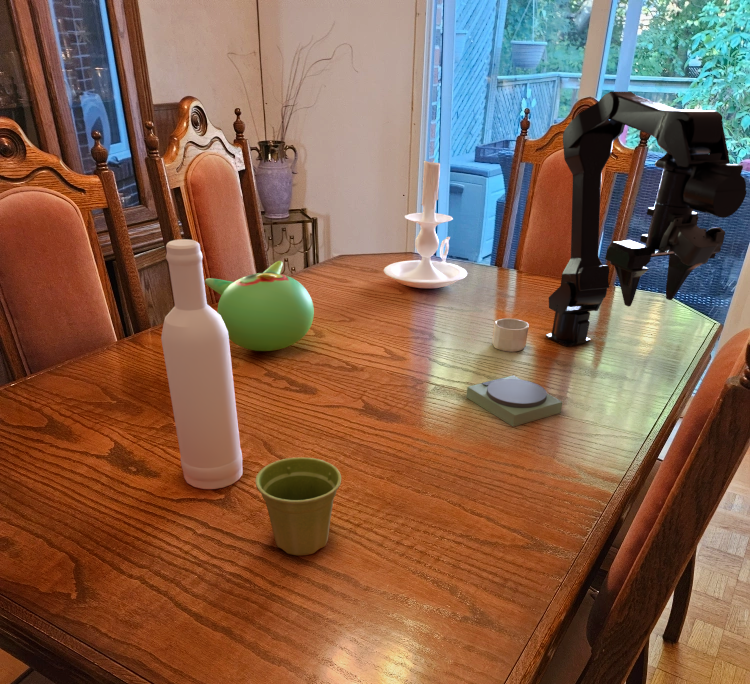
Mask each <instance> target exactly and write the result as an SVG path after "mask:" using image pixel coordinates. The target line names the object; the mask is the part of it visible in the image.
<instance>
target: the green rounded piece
mask: <svg viewBox="0 0 750 684" xmlns="http://www.w3.org/2000/svg"><path fill="white" fill-rule="evenodd" d="M283 265H284V263H283V261H282V260H278V261H275V262H274V263H273V264H272V265H270V266H268V267H267V268H266V269H265V270H264V271H263V272H258V273H252V274H248V275H246V276H242V277H240V278H238V279H236V280H235V281H230V280H225V279H219V278H213V277H211V278H209V277H208V278H206V279H204V284H206V286H208V287H209V288H210V289H211V290H213V291H214V292H215V293H217V294H218V295H219V296H220V298H219V300H218V303H217V313H219V314H220V315H221V317H222V319H223V321H224V323H225V326H226V328H227V330H228V336H229V341H231V342H232V343H234V345H236V346H238V347H241V348H243V349H246V350H250V351H254V352H274V351H279V350H283V349H286V348H288V347H291V346H292V345H295V344H297V343H298V342H300V341H301V340H303V338H304V337H305V336H306V335H307V334H308V333H309V331H310V330H311V327H312V325H313V321H314V316H315V307H314V302H313V300H312V296H311V295H310V293H309V292H308V290H307V289H306V287H305V286H304V285H303V284H302V283H300V282H299V281H298V280H297V279H295V278H293V277H291V276H289V275H285V274H283V273H281V272H282V270H283Z"/></svg>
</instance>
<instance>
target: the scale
mask: <svg viewBox="0 0 750 684" xmlns="http://www.w3.org/2000/svg"><path fill="white" fill-rule="evenodd" d="M465 398H466V399H468V400H470V401H471V402H473V403H474V404H476V405H477V406H479V407H481V408H482V409H484V410H486V411H487V412H489V413H490V414H492V415H493V416H495V417H496V418H499V419H500V420H502V421H503V422H505V423H507V424H508V425H510V426H511V427H513V428H514V427H517V426H521V425H524V424H527V423H531V422H534V421H538V420H542V419H545V418H548V417H551V416H555V415H558V414H561V412H562V408H563V401H562V400H561V399H559V398H557V397H555V396H553V395H551V394H549V393H548V392H547V389H545V388H544V387H543V386H542V385H540V384H538V383H536V382H533V381H529V380H526V379H521V378H520V377H517V376H516V375H514V374H512V375H509V376H505V377H500V378H496V379H492V380H487V381H484V382H481V383H477V384H472V385H469V386H466V395H465Z"/></svg>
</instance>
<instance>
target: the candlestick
mask: <svg viewBox="0 0 750 684" xmlns="http://www.w3.org/2000/svg"><path fill="white" fill-rule="evenodd" d="M422 174H423V175H422V195H421V204H420V205H421V206H422V212H412V213H408V214H405V215H404V219H406V220H408V221H411V222H414V223H416V224H418V225H419V226H420V231H419V233H418V235H417V237H416V238H415V240H414V245H415V249H416V251H417V254H419V256H421V260H420V259H415V260H403V261H402V260H401V261H398V262H393V263H390V264H388V265H386V266H385V267H384V268H383V273H384V274H385V275H386V276H387V277H390V278H392V280H394V281H396V282H397V283H399V284H401V285H404V286H406V287H411V288H418V289H438V288H439V289H440V288H444V287H448V286H451V285H453V284H455V283H456V282H458V281H461V280H463V279H464V278H465V279H466V277H467V276H468V272H467V270H466V269H465V268H463V267H462V266H460V265H457V264H454V263H449V262H447V261H446V260H447V256H448V253H449V250H450V239H451V236H446V237H445V238H444V239H443V240H442V241H441V242H440V240H439V237H438V235H437V233H436V227H437V226H439V225H441V224H443V223H444V224H445V223H448V222H451V221H452V220H454V218H453V216H451V215H448V214H444V213H439V212H436V208H437V207H436V206H437V201H439V190H440V189H439V186H440V176H441V163H440V162H435V158H434V159H433V161H427V160H423V173H422ZM444 247H445V248H444ZM438 249H439V257H440V258H441V261H440V260H439V261H438V260H432V256H434V255H435V254H436V253H437V251H438Z"/></svg>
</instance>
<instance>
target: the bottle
mask: <svg viewBox="0 0 750 684" xmlns="http://www.w3.org/2000/svg"><path fill="white" fill-rule="evenodd" d="M165 247H166V248H165V249H166V255H165V259H166V261H167V263H168V268H169V276H170V283H171V289H172V295H173V296H172V297H173V302H174V306H173V307H172V308H171V310H170V311H169V312H168V314H166V315H165V317H164V321H163V325H162V330H161V337H160V339H161V345H162V351H163V357H164V364H165V369H166V376H167V381H168V382H167V383H168V388H169V394H170V400H171V406H172V412H173V418H174V424H175V430H176V436H177V441H178V446H179V447H178V449H179V455H180V466H181V469H182V473H183V478H184V480H185V482H186V483H187V484H188V485H190V486H192V487H194V488H198V489H201V490H218V489H223V488H226V487H228V486H231V485H233V484H234V483H236V482H237V481H239V480H240V479H241V477H242V476H243V474H244V473H243V471H244V470H243V469H244V468H243V453H242V452H243V451H242V449H241V440H240V432H239V422H238V421H239V420H238V413H237V412H238V411H237V404H236V403H237V402H236V394H235V384H234V383H235V382H234V376H233V375H234V373H233V364H232V356H231V355H232V354H231V348H230V347H231V346H230V339H229V336H228V330H227V328H226V326H225V323H224V321H223V319H222V317H221V315H220V314H219V313H218V311H216V310H215V309H214V308H213V307H211V306H210V305H209V304H208V301H207V294H206V285H205V284H206V283H205V277H204V269H203V268H204V267H203V259H204V258H203V253H202V251H201V244H200V243H199V242H198V241H196V240H194V239H190V238H189V239H188V238H187V239H186V238H185V239H184V238H182V239H173V240H170V241H168V242H167V243H166V245H165Z"/></svg>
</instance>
